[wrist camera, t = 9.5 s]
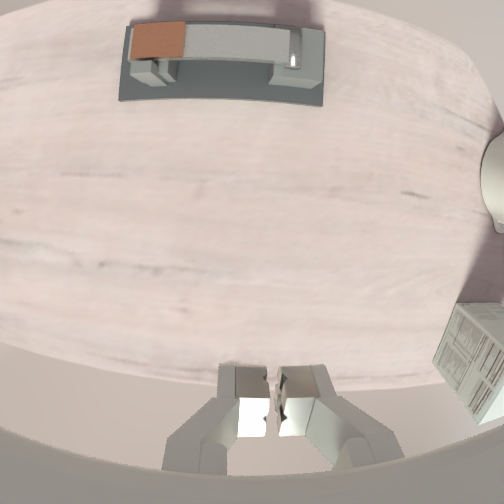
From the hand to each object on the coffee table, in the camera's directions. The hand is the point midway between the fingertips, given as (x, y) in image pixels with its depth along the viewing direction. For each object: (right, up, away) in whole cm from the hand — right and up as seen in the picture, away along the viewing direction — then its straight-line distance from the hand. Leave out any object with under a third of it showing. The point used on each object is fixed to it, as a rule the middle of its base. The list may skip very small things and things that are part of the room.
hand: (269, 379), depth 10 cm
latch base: (-4, +27, +22) cm, 35 cm away
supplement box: (+40, -11, +38) cm, 56 cm away
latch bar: (-4, +24, +16) cm, 30 cm away
